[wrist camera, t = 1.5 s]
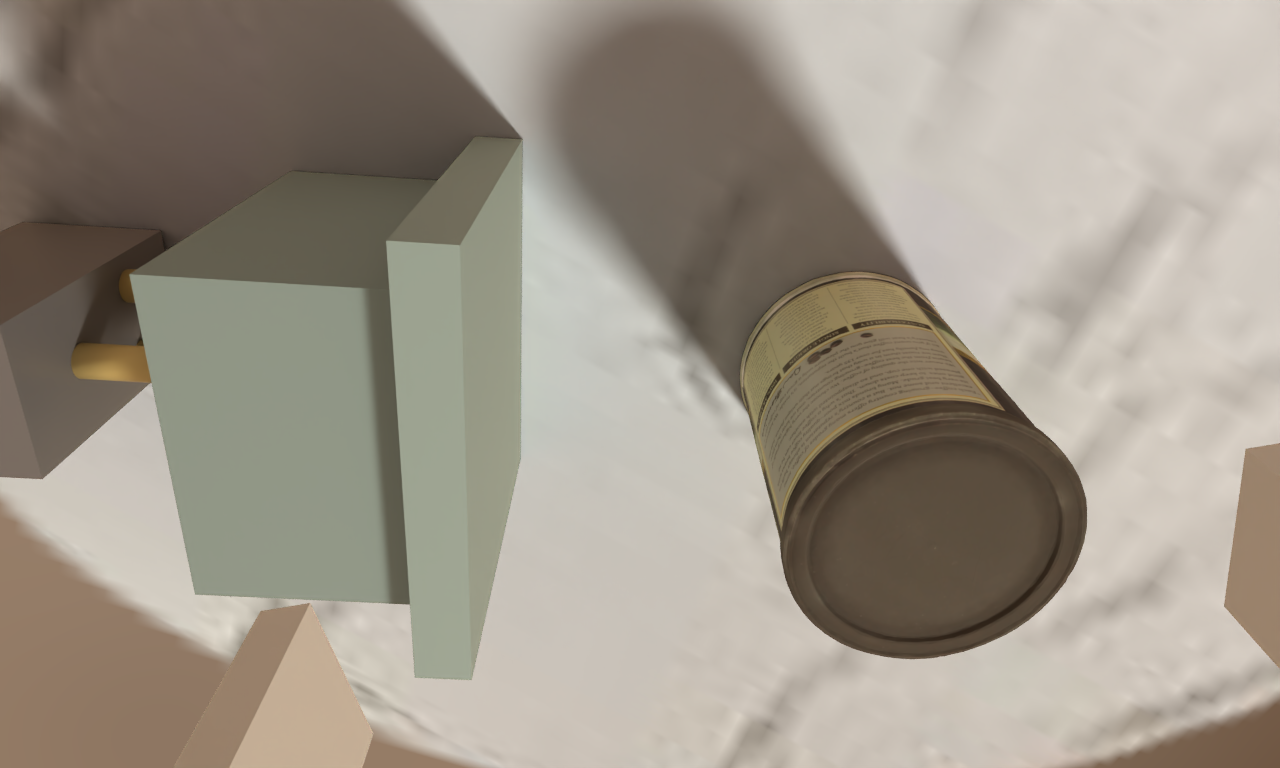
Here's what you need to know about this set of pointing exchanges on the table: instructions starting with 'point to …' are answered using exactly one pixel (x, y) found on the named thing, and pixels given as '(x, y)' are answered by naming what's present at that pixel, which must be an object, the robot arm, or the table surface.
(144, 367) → the plug
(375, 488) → the socket
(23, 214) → the table surface
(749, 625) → the table surface
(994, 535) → the coffee can
